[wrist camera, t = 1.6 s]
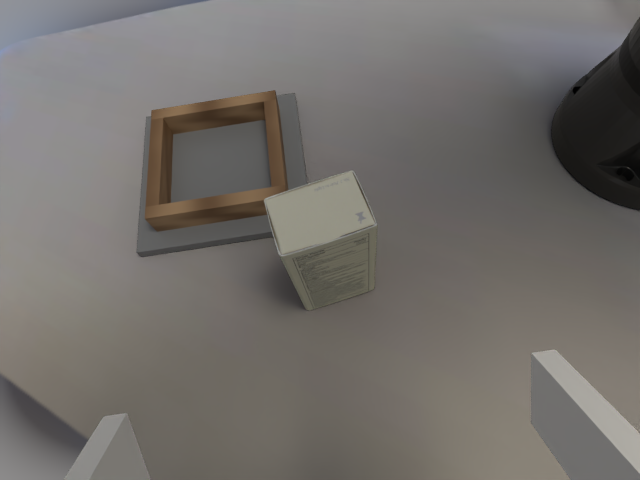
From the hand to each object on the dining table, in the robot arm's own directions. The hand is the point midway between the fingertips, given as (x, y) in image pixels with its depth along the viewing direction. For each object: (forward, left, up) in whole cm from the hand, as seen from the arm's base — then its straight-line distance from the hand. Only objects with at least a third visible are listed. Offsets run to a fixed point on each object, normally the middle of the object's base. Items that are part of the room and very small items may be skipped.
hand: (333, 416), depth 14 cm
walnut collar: (+9, -25, -19) cm, 33 cm away
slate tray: (+9, -25, -19) cm, 33 cm away
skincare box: (0, -12, -20) cm, 23 cm away
